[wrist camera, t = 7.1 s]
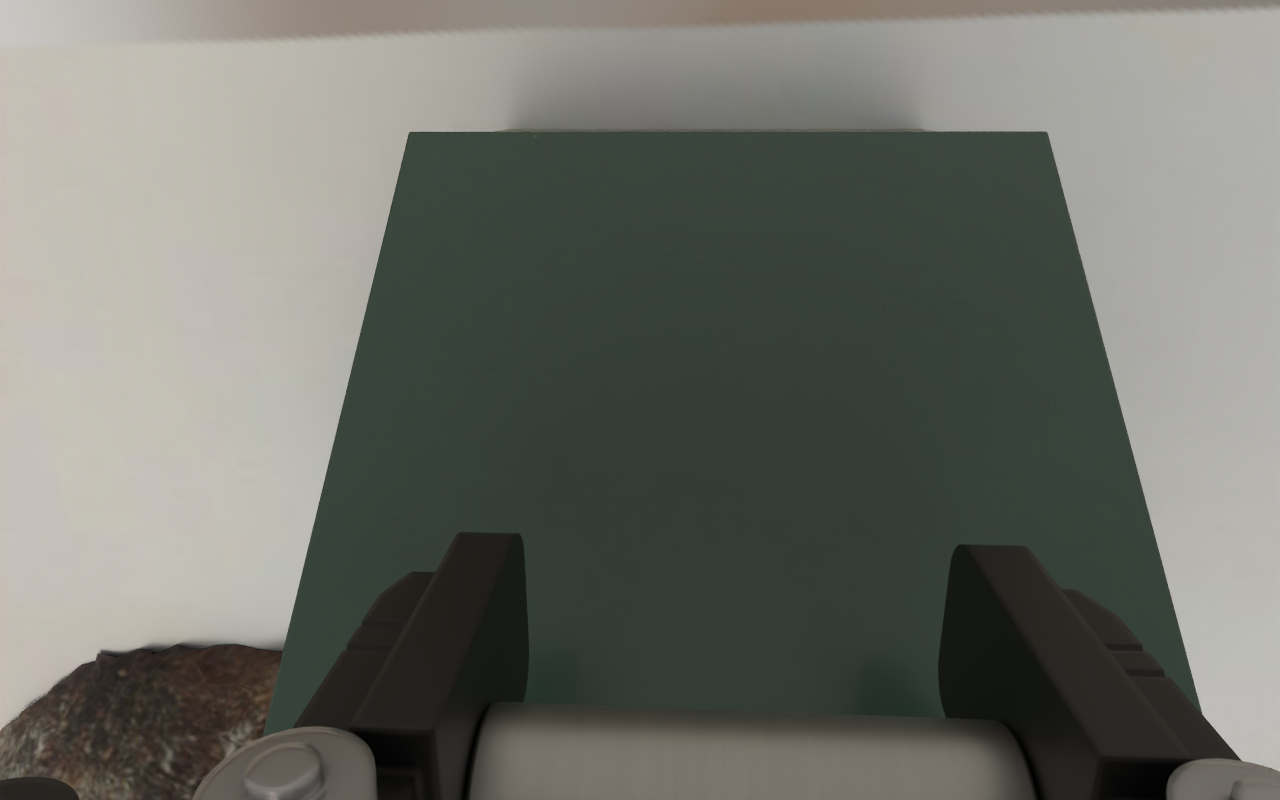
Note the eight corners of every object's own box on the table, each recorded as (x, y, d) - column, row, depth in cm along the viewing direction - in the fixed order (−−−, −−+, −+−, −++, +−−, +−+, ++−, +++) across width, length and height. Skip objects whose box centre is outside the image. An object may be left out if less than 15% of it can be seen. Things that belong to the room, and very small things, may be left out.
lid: (1309, 1265, 9) (1845, 1588, 5) (182, 1188, 10) (-188, 1410, 6) (1033, 160, 18) (1149, -78, 13) (419, 159, 18) (337, -67, 14)
